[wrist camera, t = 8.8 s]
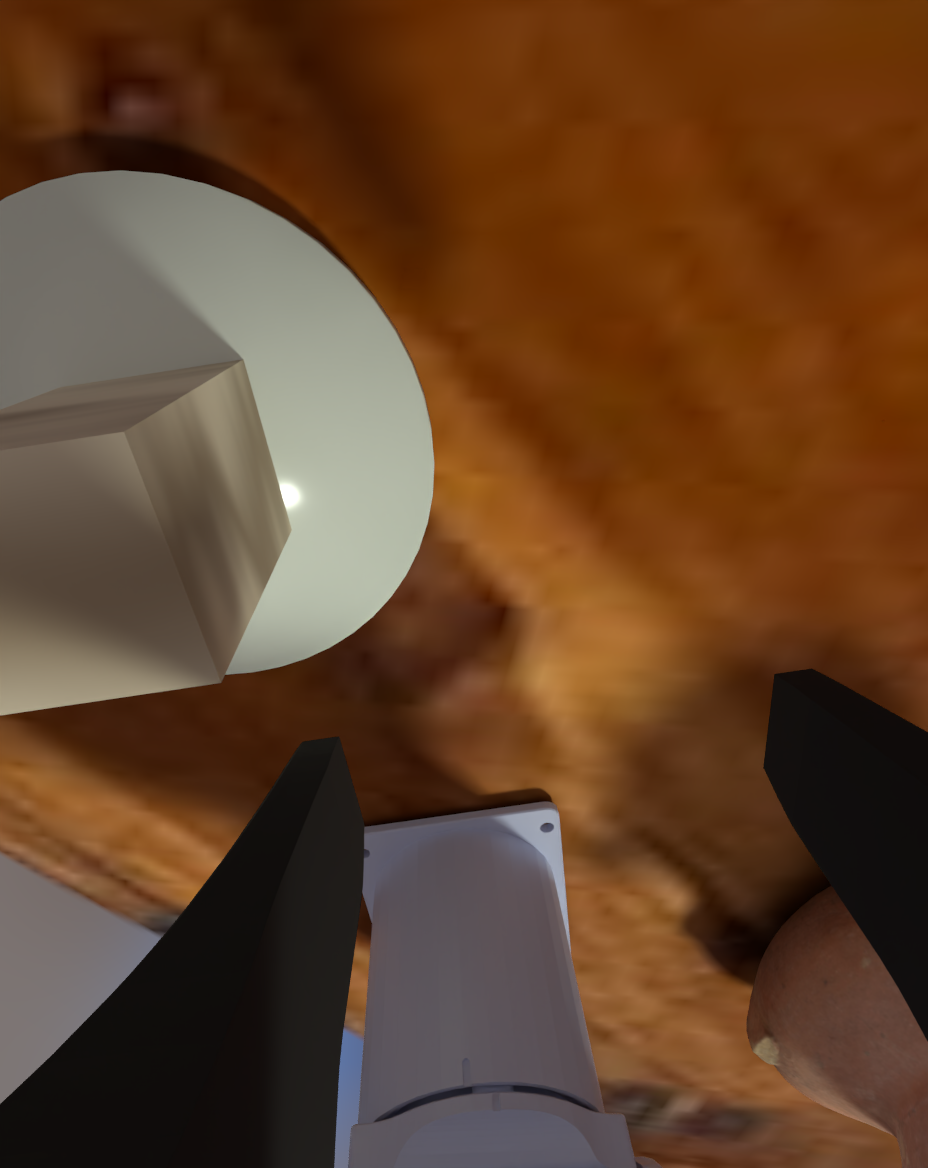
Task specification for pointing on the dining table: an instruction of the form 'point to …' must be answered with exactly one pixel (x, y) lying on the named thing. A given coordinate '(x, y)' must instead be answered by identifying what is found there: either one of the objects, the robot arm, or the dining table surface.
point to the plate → (228, 333)
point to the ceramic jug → (841, 1025)
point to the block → (132, 535)
